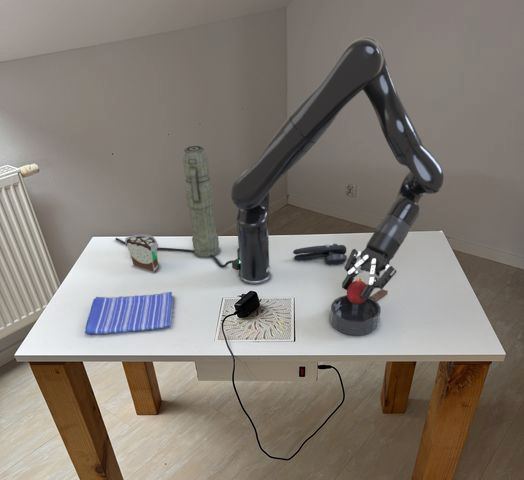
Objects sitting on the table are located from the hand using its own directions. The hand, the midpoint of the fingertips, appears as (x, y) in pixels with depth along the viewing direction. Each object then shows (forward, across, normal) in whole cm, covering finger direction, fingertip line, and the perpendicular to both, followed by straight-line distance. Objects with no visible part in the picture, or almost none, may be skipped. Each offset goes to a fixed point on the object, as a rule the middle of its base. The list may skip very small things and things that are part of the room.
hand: (353, 293), depth 125 cm
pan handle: (-3, -1, +13) cm, 14 cm away
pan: (+6, 0, +8) cm, 10 cm away
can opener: (-6, -32, +21) cm, 38 cm away
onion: (+2, 0, +4) cm, 5 cm away
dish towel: (+38, -45, -24) cm, 64 cm away
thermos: (+11, -63, +3) cm, 64 cm away
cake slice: (+25, -68, -11) cm, 73 cm away
